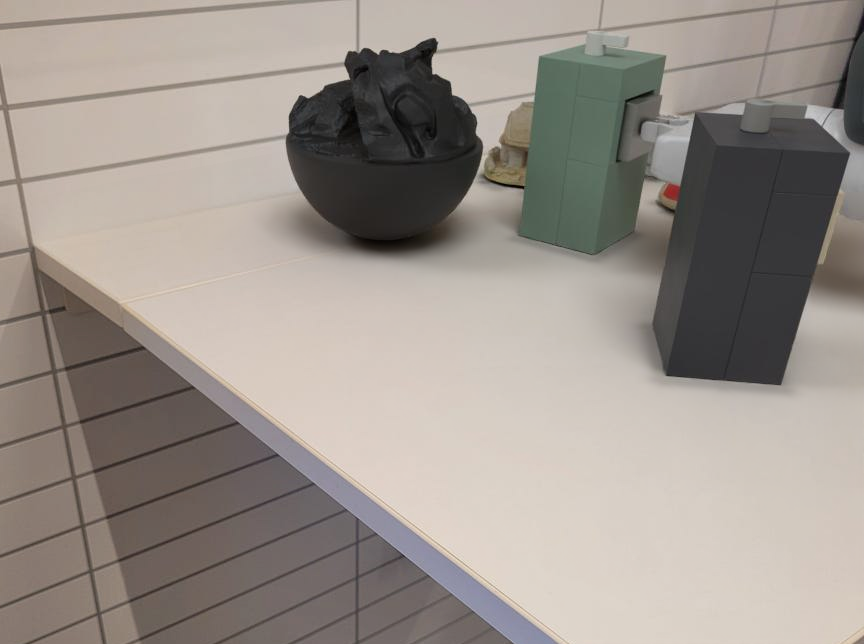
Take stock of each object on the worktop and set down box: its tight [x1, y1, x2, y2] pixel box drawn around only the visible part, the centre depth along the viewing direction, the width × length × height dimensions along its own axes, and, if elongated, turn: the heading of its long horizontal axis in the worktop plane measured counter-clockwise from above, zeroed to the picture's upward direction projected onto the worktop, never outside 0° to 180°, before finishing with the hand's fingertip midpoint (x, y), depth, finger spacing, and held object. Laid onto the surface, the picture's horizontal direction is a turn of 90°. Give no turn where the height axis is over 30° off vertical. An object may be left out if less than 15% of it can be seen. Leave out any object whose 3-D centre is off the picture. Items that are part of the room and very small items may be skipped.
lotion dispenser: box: [651, 98, 850, 385], centre depth 73 cm, size 9×10×20 cm
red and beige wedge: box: [657, 182, 680, 212], centre depth 110 cm, size 7×10×4 cm
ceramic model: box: [483, 101, 534, 187], centre depth 116 cm, size 14×11×10 cm
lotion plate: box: [817, 189, 844, 265], centre depth 72 cm, size 1×6×5 cm, turn 173°
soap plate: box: [616, 93, 663, 162], centre depth 94 cm, size 1×6×5 cm, turn 143°
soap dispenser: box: [518, 30, 667, 256], centre depth 97 cm, size 9×10×20 cm
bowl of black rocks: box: [285, 37, 484, 241], centre depth 95 cm, size 20×20×19 cm
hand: (646, 128), depth 93 cm, fingers closed
